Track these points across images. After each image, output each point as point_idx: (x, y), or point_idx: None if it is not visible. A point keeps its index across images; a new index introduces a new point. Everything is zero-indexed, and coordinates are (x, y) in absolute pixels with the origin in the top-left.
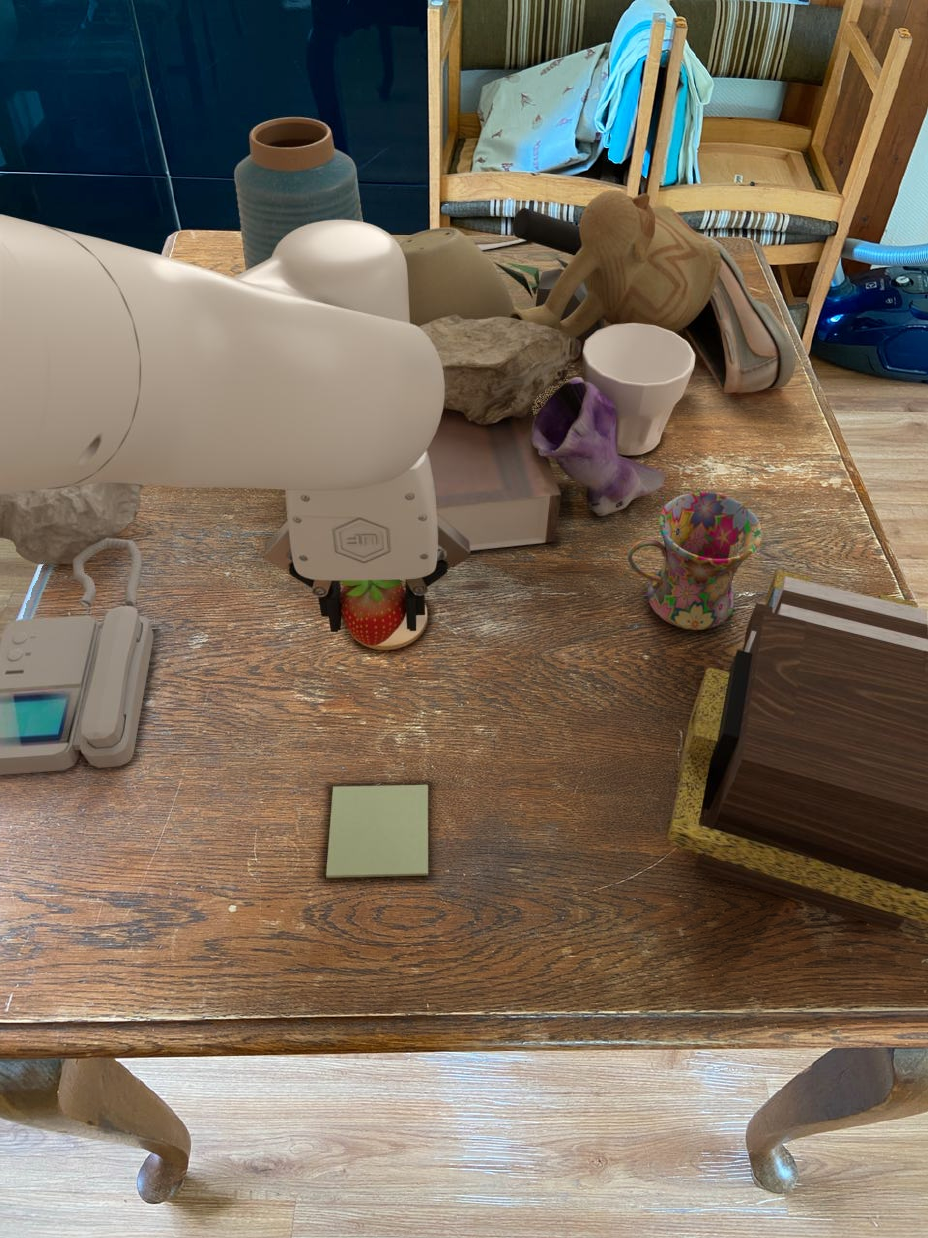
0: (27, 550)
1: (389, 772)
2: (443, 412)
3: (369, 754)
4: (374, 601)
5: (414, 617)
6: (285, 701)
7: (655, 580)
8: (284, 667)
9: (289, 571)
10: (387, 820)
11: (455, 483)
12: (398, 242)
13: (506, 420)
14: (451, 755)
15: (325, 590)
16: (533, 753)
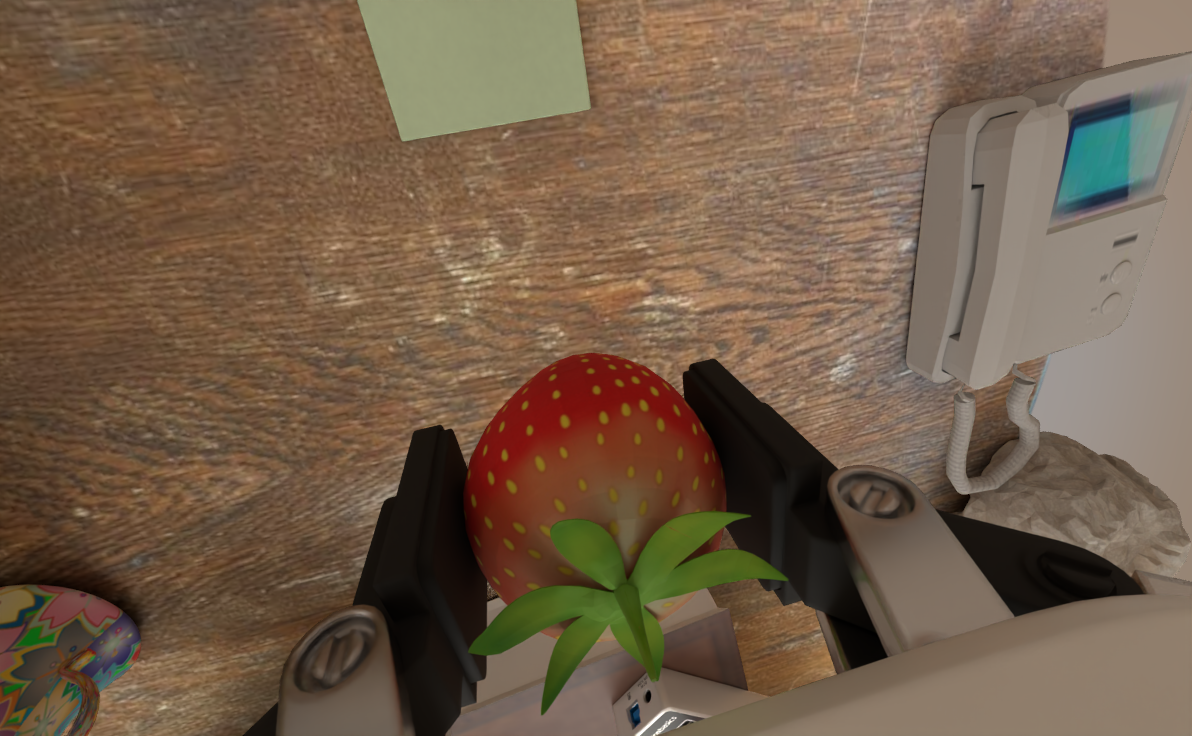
0: (1072, 445)
1: (491, 167)
2: None
3: (540, 203)
4: (586, 509)
5: (404, 478)
6: (705, 287)
7: (67, 672)
8: (716, 350)
9: (1117, 571)
10: (459, 32)
11: (517, 727)
12: None
13: None
14: (381, 227)
15: (841, 505)
16: (210, 260)
